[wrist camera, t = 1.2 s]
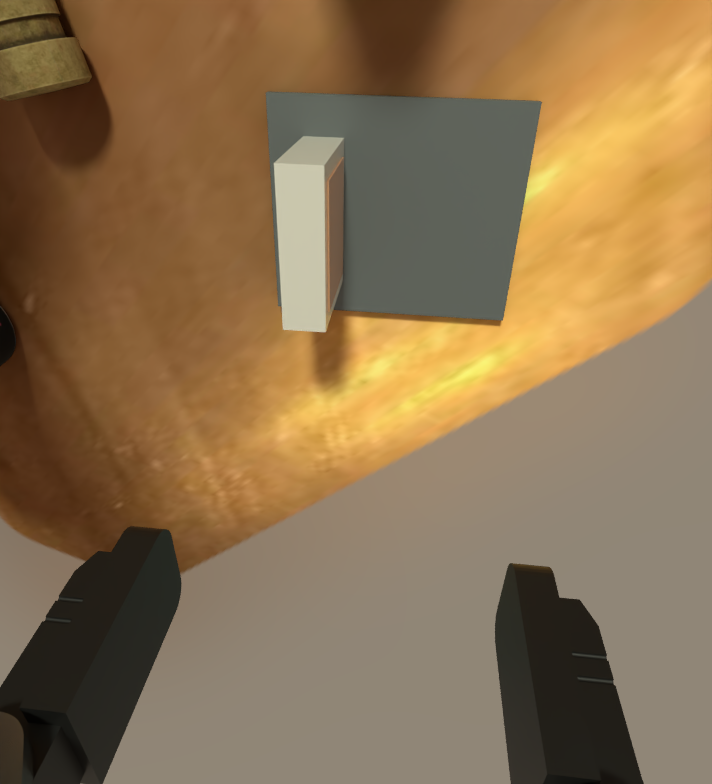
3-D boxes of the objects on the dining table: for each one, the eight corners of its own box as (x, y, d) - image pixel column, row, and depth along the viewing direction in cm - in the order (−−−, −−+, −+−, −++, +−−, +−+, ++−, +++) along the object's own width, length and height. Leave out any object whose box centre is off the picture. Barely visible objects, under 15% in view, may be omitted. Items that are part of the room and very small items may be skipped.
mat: (280, 302, 36) (278, 306, 36) (268, 91, 30) (265, 92, 29) (501, 316, 35) (502, 320, 35) (539, 101, 29) (541, 102, 28)
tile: (307, 278, 35) (282, 329, 29) (303, 136, 30) (273, 162, 25) (344, 280, 35) (327, 332, 29) (346, 137, 30) (326, 165, 24)
